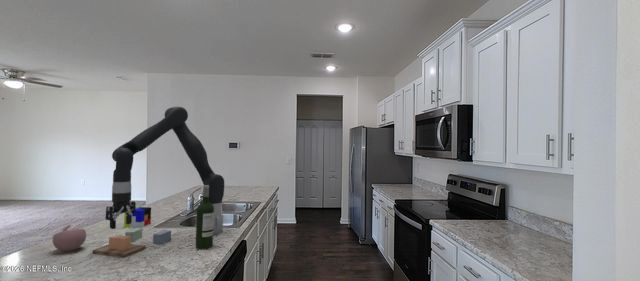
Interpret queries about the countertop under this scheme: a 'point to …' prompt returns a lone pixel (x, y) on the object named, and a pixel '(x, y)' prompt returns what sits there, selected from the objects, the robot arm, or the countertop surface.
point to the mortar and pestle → (69, 239)
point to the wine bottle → (204, 222)
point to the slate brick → (161, 237)
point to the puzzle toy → (139, 218)
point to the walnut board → (119, 251)
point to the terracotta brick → (119, 242)
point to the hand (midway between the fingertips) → (121, 226)
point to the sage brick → (134, 234)
